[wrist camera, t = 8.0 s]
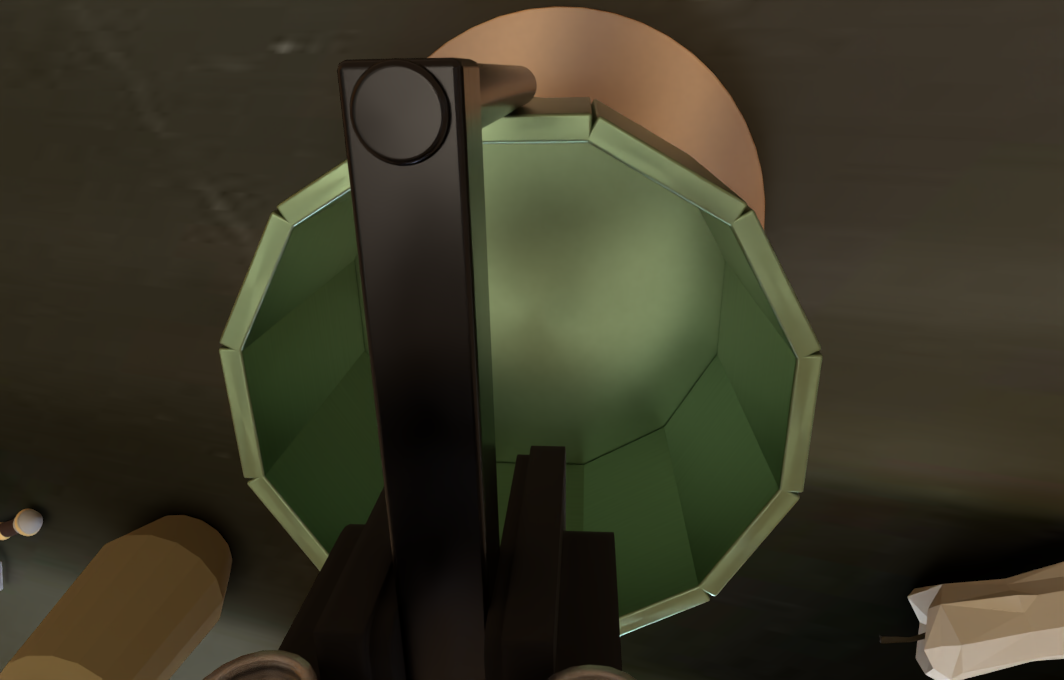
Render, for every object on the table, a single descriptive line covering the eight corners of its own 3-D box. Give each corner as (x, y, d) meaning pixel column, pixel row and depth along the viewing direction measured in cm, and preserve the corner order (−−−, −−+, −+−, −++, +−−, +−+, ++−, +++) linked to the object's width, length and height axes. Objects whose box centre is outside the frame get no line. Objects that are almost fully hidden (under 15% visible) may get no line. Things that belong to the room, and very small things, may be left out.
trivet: (781, 0, 31) (787, -2, 30) (742, 404, 38) (746, 413, 37) (342, 14, 32) (335, 13, 31) (385, 400, 40) (380, 408, 39)
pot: (755, 61, 19) (1252, 40, 5) (716, 490, 24) (902, 1097, 10) (323, 70, 20) (-328, 74, 6) (372, 482, 24) (90, 1024, 11)
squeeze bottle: (106, 511, 44) (-191, 782, 27) (218, 486, 43) (-22, 755, 26) (163, 609, 47) (-75, 911, 30) (270, 589, 45) (84, 893, 28)
